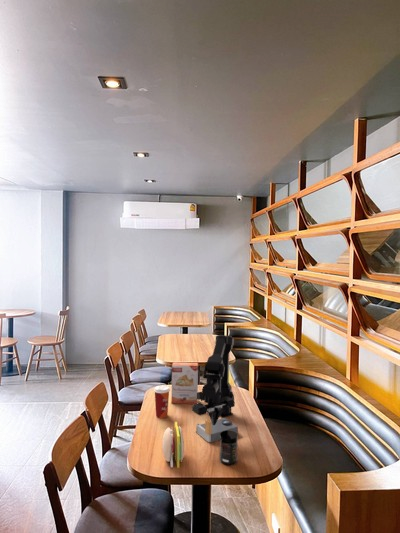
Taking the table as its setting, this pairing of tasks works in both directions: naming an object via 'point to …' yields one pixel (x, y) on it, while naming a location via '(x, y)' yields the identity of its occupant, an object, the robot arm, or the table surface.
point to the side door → (205, 430)
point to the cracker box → (184, 382)
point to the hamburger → (173, 445)
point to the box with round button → (221, 428)
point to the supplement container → (228, 447)
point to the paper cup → (161, 400)
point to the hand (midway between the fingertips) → (213, 424)
